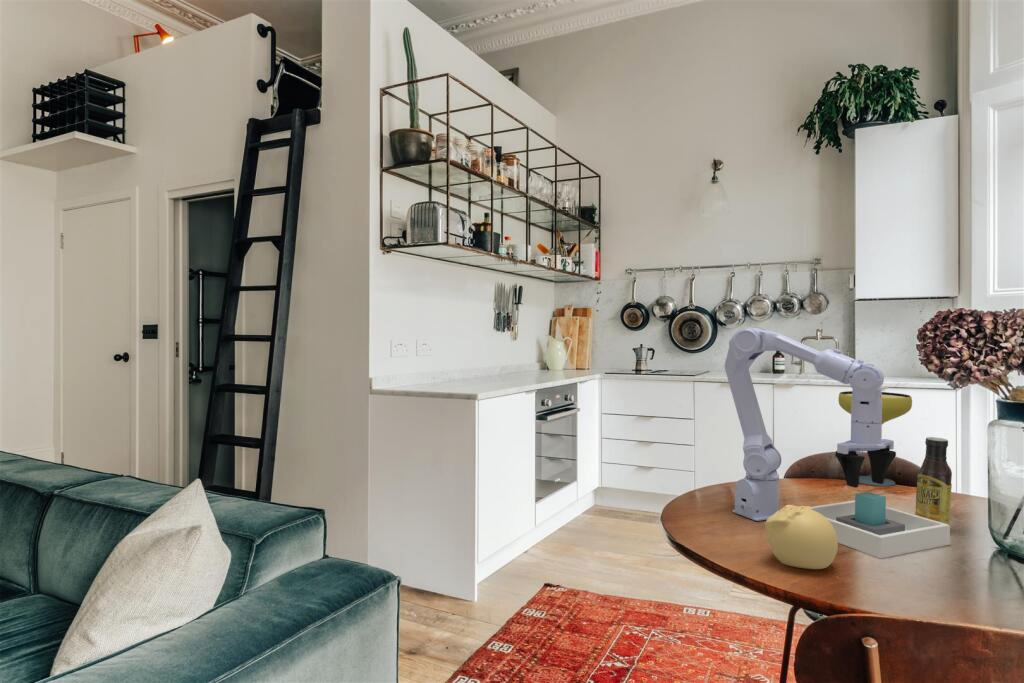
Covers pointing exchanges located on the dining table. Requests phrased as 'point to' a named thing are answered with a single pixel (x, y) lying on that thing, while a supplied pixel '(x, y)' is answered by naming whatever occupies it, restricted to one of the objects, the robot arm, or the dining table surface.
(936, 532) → the box
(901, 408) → the cocktail glass
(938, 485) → the sauce bottle
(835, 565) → the dining table surface
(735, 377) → the robot arm
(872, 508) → the block
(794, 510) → the sculpture
